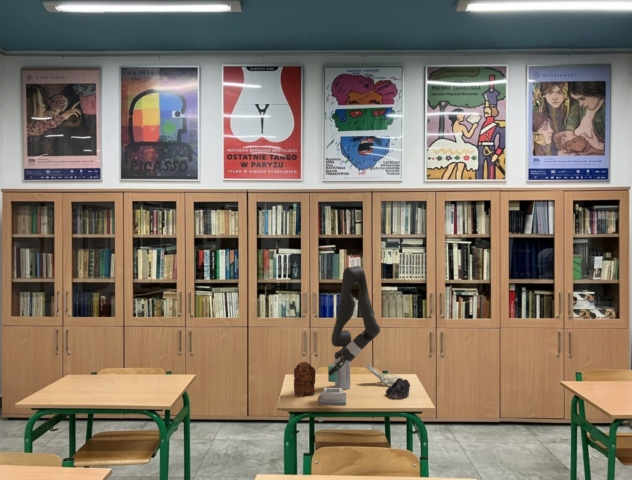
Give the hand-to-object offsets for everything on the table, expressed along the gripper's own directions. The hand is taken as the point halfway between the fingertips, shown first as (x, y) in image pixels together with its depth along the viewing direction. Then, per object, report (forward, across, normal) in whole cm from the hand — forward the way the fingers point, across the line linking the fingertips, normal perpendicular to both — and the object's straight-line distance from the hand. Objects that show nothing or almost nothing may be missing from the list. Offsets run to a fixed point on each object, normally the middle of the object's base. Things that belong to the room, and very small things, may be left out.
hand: (329, 373), depth 266 cm
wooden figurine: (+20, -9, 0) cm, 22 cm away
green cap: (+2, 0, +4) cm, 5 cm away
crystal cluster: (-16, -10, +37) cm, 42 cm away
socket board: (+9, 0, +11) cm, 15 cm away
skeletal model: (-13, -33, +33) cm, 49 cm away
